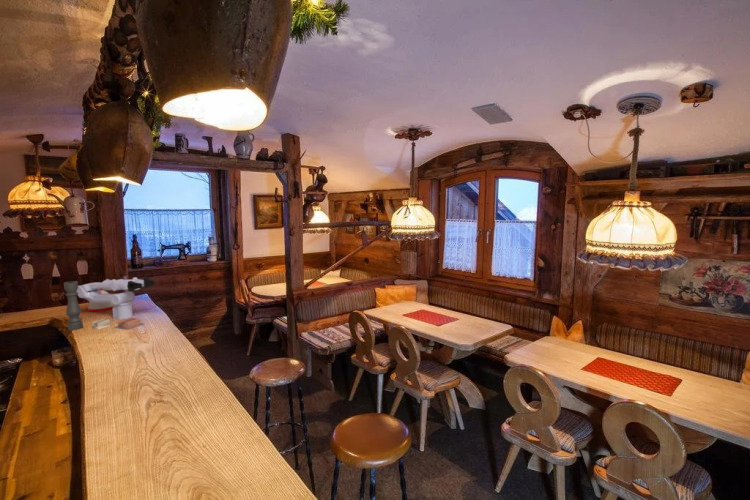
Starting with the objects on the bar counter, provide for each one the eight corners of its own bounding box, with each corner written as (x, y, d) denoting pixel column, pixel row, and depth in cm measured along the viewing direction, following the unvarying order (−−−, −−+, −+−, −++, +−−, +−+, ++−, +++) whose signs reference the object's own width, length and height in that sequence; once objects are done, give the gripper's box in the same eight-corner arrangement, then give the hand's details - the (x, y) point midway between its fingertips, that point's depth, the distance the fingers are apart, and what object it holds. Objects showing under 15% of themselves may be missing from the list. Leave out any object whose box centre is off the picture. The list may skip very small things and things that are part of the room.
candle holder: (84, 328, 197) (79, 282, 194) (69, 331, 192) (63, 284, 189) (81, 326, 201) (77, 280, 198) (67, 328, 196) (61, 282, 193)
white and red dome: (82, 311, 229) (80, 287, 227) (101, 305, 242) (99, 282, 240) (102, 312, 227) (100, 288, 225) (121, 306, 240) (119, 283, 239)
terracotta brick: (118, 327, 194) (117, 321, 194) (130, 323, 201) (130, 317, 200) (128, 328, 192) (127, 322, 192) (140, 324, 199) (139, 318, 198)
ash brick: (93, 331, 193) (92, 322, 192) (104, 327, 198) (103, 318, 198) (98, 332, 191) (97, 322, 191) (110, 328, 197) (109, 319, 196)
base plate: (113, 330, 193) (113, 327, 193) (131, 324, 203) (131, 322, 203) (127, 332, 190) (127, 329, 190) (145, 326, 200) (145, 323, 200)
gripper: (115, 280, 201) (134, 279, 196) (140, 275, 214) (158, 274, 210) (117, 293, 202) (136, 292, 197) (142, 287, 215) (160, 286, 211)
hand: (147, 284), depth 204 cm, fingers open, 7 cm apart
